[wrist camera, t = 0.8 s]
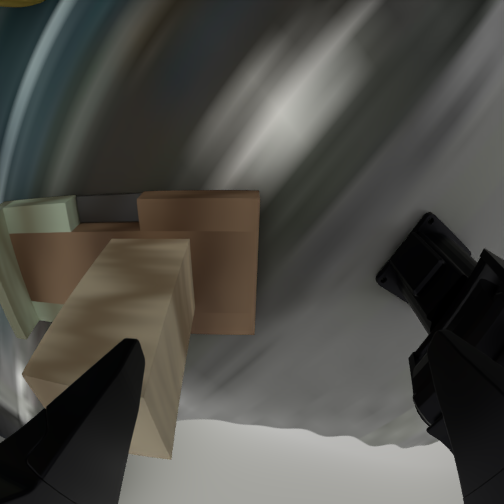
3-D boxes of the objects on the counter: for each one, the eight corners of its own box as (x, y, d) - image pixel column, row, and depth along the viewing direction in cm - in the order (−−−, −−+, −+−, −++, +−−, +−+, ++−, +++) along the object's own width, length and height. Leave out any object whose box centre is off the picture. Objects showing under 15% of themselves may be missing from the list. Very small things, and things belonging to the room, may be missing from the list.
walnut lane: (258, 190, 18) (262, 215, 15) (253, 321, 23) (255, 360, 20) (4, 201, 18) (-28, 223, 14) (37, 308, 22) (16, 337, 19)
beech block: (189, 238, 18) (143, 397, 8) (195, 306, 20) (171, 459, 11) (111, 238, 18) (21, 374, 8) (125, 303, 20) (71, 440, 11)
